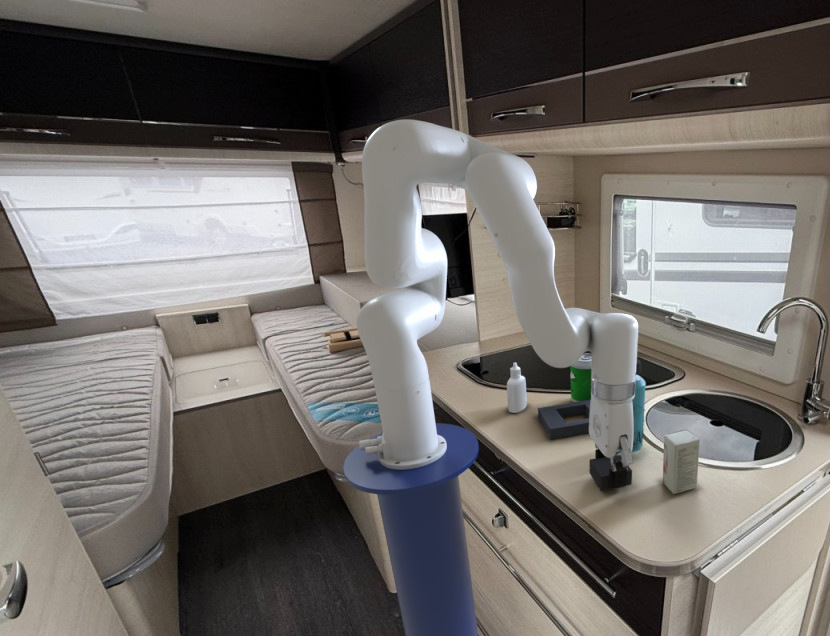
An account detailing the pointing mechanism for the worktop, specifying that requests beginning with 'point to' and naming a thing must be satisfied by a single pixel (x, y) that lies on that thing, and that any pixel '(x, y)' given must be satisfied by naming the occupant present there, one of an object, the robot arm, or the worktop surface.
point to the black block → (605, 472)
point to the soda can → (581, 378)
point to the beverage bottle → (638, 410)
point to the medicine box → (680, 461)
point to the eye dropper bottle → (516, 390)
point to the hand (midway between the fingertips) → (610, 475)
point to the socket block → (556, 424)
